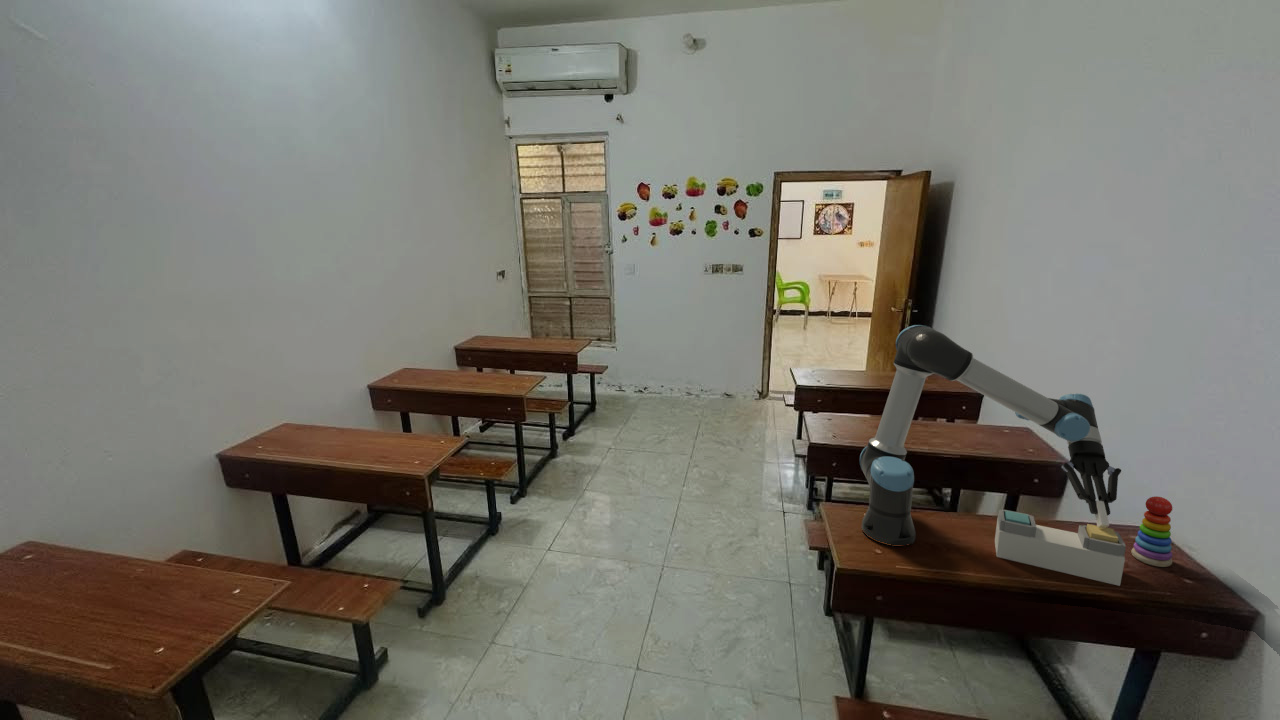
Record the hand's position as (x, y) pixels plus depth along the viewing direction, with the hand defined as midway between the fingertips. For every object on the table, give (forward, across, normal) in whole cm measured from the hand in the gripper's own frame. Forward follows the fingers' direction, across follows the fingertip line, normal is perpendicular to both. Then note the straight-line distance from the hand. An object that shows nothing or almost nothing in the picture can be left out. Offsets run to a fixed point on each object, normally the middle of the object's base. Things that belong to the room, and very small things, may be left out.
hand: (1103, 526), depth 130 cm
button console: (+9, +9, -10) cm, 16 cm away
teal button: (+2, +18, -6) cm, 19 cm away
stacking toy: (+2, -16, -18) cm, 24 cm away
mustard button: (+3, 0, -3) cm, 5 cm away
